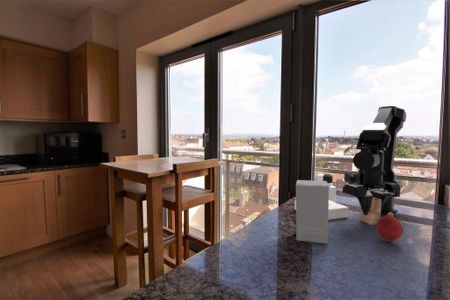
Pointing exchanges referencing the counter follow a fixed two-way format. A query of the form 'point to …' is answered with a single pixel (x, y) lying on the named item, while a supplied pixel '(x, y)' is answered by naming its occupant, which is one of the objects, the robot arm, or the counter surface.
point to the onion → (389, 228)
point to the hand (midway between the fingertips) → (370, 214)
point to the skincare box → (312, 211)
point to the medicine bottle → (329, 181)
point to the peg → (372, 212)
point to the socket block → (334, 210)
